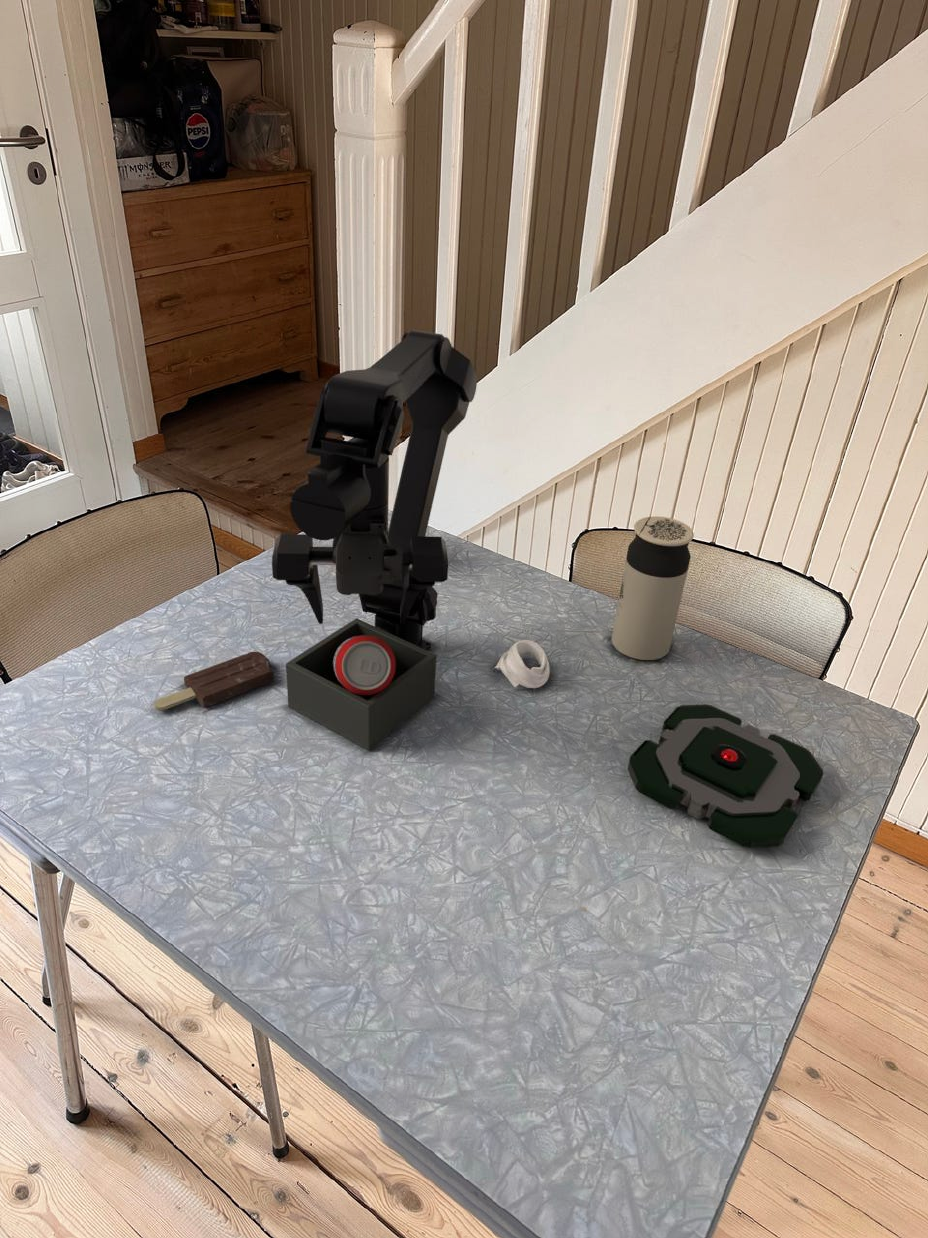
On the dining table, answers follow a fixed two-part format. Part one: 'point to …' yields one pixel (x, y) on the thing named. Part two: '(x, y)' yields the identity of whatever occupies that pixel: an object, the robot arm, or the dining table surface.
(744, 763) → the clover-shaped pad
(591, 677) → the dining table surface
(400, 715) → the trash bin
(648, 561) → the travel mug
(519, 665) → the white bandage roll
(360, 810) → the dining table surface
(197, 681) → the ice cream bar
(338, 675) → the beverage can
